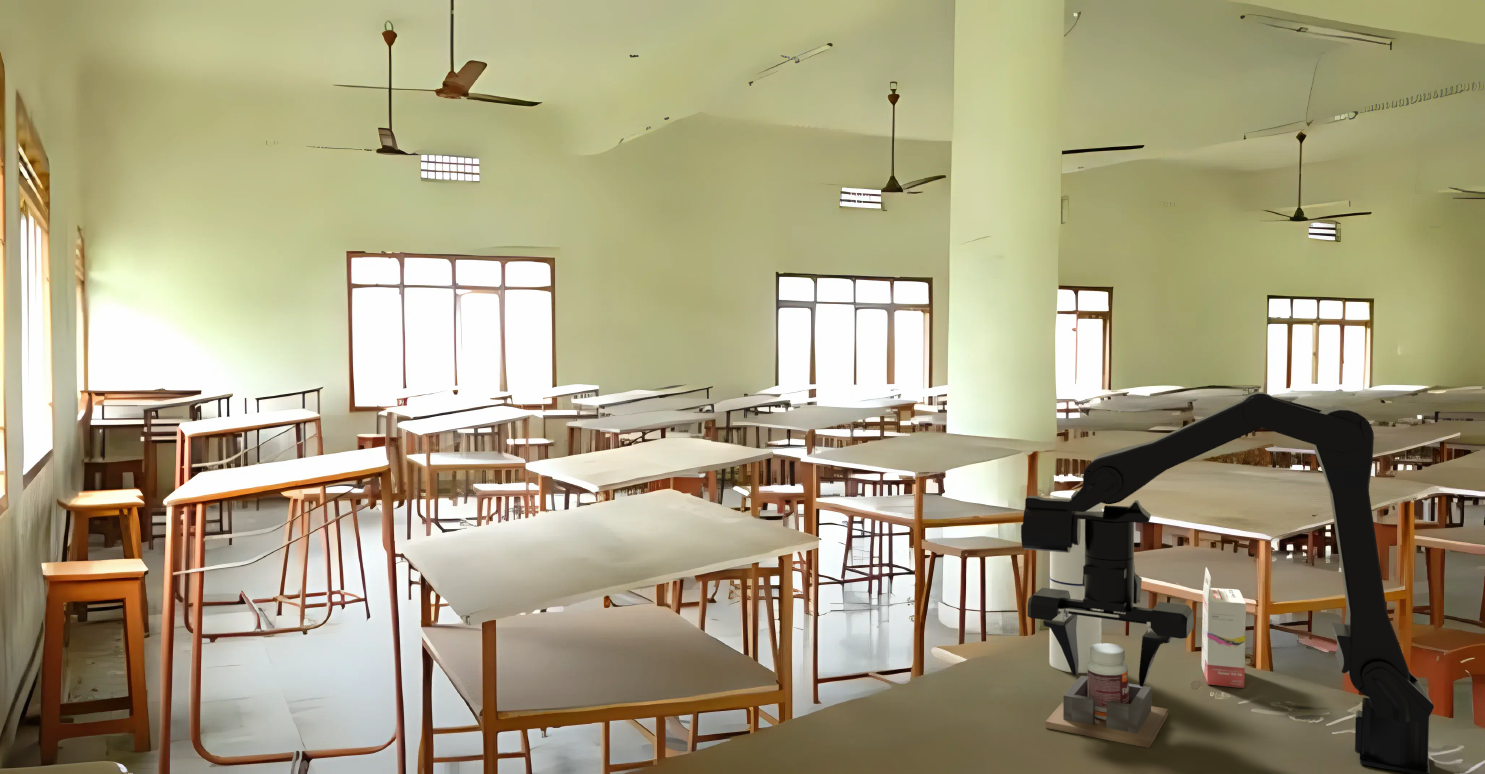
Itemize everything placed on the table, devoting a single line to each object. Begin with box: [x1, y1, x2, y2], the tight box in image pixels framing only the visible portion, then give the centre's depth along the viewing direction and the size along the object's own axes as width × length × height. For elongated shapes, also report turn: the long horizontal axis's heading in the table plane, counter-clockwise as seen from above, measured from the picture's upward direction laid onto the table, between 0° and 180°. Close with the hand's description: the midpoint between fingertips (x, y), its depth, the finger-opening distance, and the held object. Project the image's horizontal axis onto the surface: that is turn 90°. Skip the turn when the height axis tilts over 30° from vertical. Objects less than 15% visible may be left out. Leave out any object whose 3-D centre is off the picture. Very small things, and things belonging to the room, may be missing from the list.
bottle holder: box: [1045, 675, 1169, 749], centre depth 126 cm, size 12×12×4 cm
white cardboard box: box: [1201, 566, 1247, 689], centre depth 142 cm, size 9×5×15 cm, turn 161°
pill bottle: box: [1086, 642, 1129, 720], centre depth 126 cm, size 5×5×8 cm
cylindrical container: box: [1049, 490, 1103, 674], centre depth 148 cm, size 7×7×25 cm
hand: (1108, 680), depth 126 cm, fingers open, 8 cm apart
